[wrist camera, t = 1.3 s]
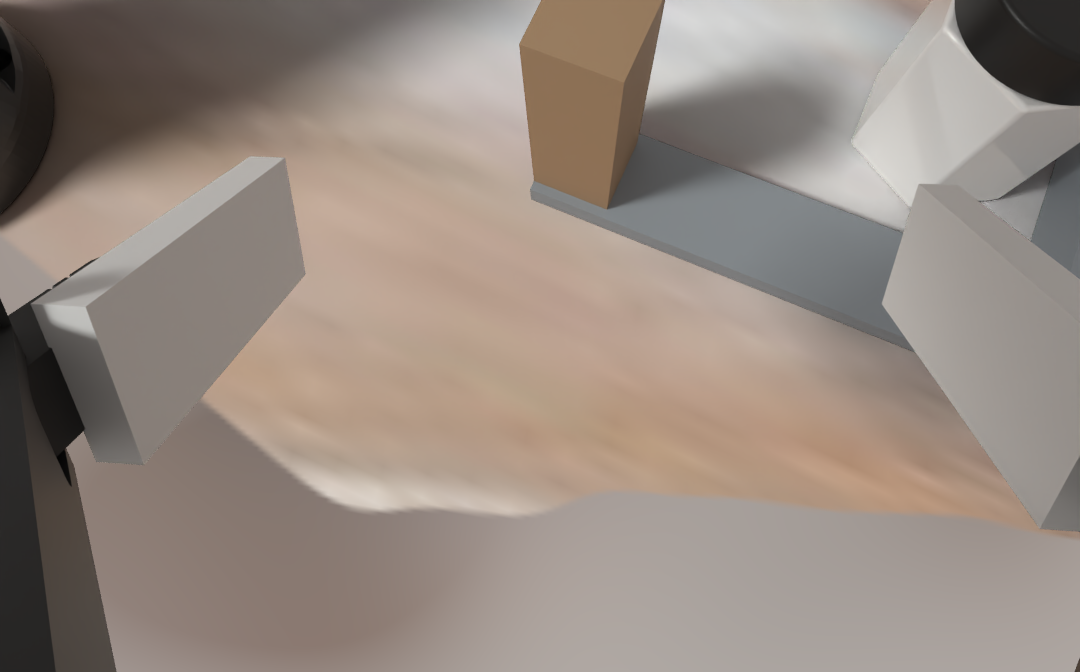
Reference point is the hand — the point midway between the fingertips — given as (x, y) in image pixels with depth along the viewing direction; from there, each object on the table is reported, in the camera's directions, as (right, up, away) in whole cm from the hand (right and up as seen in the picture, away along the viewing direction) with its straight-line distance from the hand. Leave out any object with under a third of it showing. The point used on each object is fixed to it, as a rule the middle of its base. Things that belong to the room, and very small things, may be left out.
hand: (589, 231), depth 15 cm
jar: (+20, +8, +22) cm, 30 cm away
